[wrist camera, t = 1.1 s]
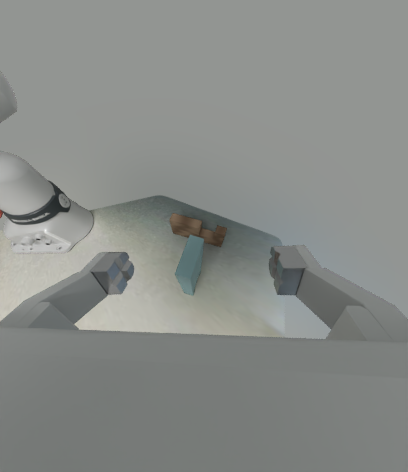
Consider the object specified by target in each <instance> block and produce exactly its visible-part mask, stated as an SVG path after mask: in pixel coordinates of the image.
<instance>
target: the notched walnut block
mask: <svg viewBox="0 0 408 472" xmlns="http://www.w3.org/2000/svg"><path fill="white" fill-rule="evenodd" d="M170 224H171V227H172V231H173V233H174V234H177V235H181V236H184V237H188V238H189V236H190V235H193V236H197V237H200V238H203V239H204V242H205V243H208V244H212V245H215V246H219V247H221V245H222V242H223V240H224V237H225V233H226V230H227V228H225V227H221V226H218V225H217V228H216V231H215V232H213V231H210V230H206V229H203V228H202V221H200V220H196V219H193V218H189V217H185V216H182V215H178V214H175V213H173V214H172V216H171V218H170Z"/></svg>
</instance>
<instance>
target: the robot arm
mask: <svg viewBox="0 0 408 472" xmlns="http://www.w3.org/2000/svg"><path fill="white" fill-rule="evenodd" d="M15 112H17V101H16V97H15V94H14V92H13V90H12V87H11V86H10V84H9V82H8V81H7V79H6V78H5V76H4V75H3V74H2V72H1V71H0V123H1V122H2V121H4V120H6V119H7V118H8V117H10V116H11V115H12V114H14V113H15ZM3 213H4V214H5V216H6V217H7V218H6V221H5V224H4V235H5V237H6V238H7V239H8V240H10V241H11V249H12V251H13V252H14V253H17V254H31V253H66V252H68V251H70V250H71V248H72V247H73V246H74V245H75V244H76V243H77V242H78V241H80V240H81V239H83V238H84V237H85V236H86V235H87V234H88V233H89V231H90V230H91V228H92V226H93V216H92V214H91V212H90V211H88V210H87V209H85V208H83V207H81V206H79V205H78V204H77V203H75V202H74V201H72V200H70V199H69V198H68V197H67V196H66V195H65V194H64V193H63V192H62V191H61V190H60V189H59V188H58V187H57V186H56V185H55V184H53V183H52V182H50V181H48V180H46V179H45V178H44V177H43V176H42V175H41V174H40V173H39V172H37V171H36V170H35V169H34V168H33V167H32V166H31V165H30V164H29V163H27V162H26V161H25V160H24V159H22V158H20V157H19V156H16V155H14V154H11V153H8V152H4V151H0V218H1V217H2V214H3ZM270 253H271V256H272V257H271V258H270V259H269V271H270V275H271V277H272V278H273V279H274V287H275V289H276V292H277V295H296V297H297V298H299V300H301V301H302V302H303V303H304V304H305V305H306V306H307V307H308V308H309V309H310V310H311V311H312V312H313V313H314V314H315V315H317V316H318V317H319V318H320V319H321V320H322V321H323V322H324V323H325V324H326V325H327V326H328V327H329V328H330V329H331V331H330V333H329V335H328V336H327V337H326V339H306V338H280V337H254V336H229V335H203V334H177V333H151V332H124V331H98V330H79V328H77V327H76V326H75V325H74V324H75V323H76V322H77V321H78V320H79V319H81V318H82V317H83V316H84V315H85V314H86V313H88V312H89V311H90V310H91V309H92V308H93V307H95V306H96V305H97V304H98V303H99V302H100V301H102V300H103V299H104V298H105V297H106V296H108V295H112V294H122V293H123V291H124V289H125V288H126V286H127V281H128V280H129V279H131V278H132V276H133V273H134V266H133V264H132V262H130V261H129V260H128V259H129V256H128V254H127V253H126V252H101V253H98V254H97V255H96V256H95V257H94V258H93V259H92V260H91V261H90V262H89V263H88V264H87V265H86V266H85V268H84V269H83V270H82V271H81V272H77V273H75V274H73V275H71V276H70V277H68V278H66V279H64V280H62V281H60V282H58V283H57V284H55V285H53V286H51V287H49V288H47V289H45V290H43V291H42V292H40V293H38V294H36V295H34V296H32V297H30V298H29V299H27V300H25V301H23V302H22V303H21V304H20V305H19V306H18V307H17V308H15V309H14V310H13V311H12V312H11V313H10V314H9V315H7V316H6V317H5V318H4V319H3V320H2V321H1V322H0V472H408V319H407V318H406V317H405V316H404V315H403V314H402V313H401V312H400V311H399V309H398V308H397V307H396V306H394V305H393V304H391V303H389V302H387V301H386V300H384V299H382V298H380V297H378V296H376V295H374V294H372V293H371V292H369V291H367V290H365V289H363V288H362V287H360V286H358V285H356V284H354V283H352V282H350V281H349V280H347V279H345V278H343V277H341V276H339V275H338V274H336V273H334V272H332V271H330V270H328V269H327V268H322V267H321V266H320V265H319V263H318V262H317V261H316V259H315V258H314V257H313V255H312V254H311V252H310V251H309V250H308V248H307V247H306V246H305V245H293V246H276V247H272V248H271V252H270Z"/></svg>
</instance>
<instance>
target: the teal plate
mask: <svg viewBox="0 0 408 472" xmlns="http://www.w3.org/2000/svg"><path fill="white" fill-rule="evenodd" d="M203 245H204V239H203V238H200V237H197V236H193V235H190V236H189V239H188V241H187V244H186V246H185V249H184V251H183V254H182V257H181V259H180V262H179V264H178V267H177V270H176V272H175V276H176V277H177V279H178V281H179V283H180V285H181V287H182V289H183V291H184V293H186V294H189V295H192V296H193V295H194V291H195V290H194V288H195V285H196V282H197V279H198V276H199V275H200V272H201V264H202V254H203Z"/></svg>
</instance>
